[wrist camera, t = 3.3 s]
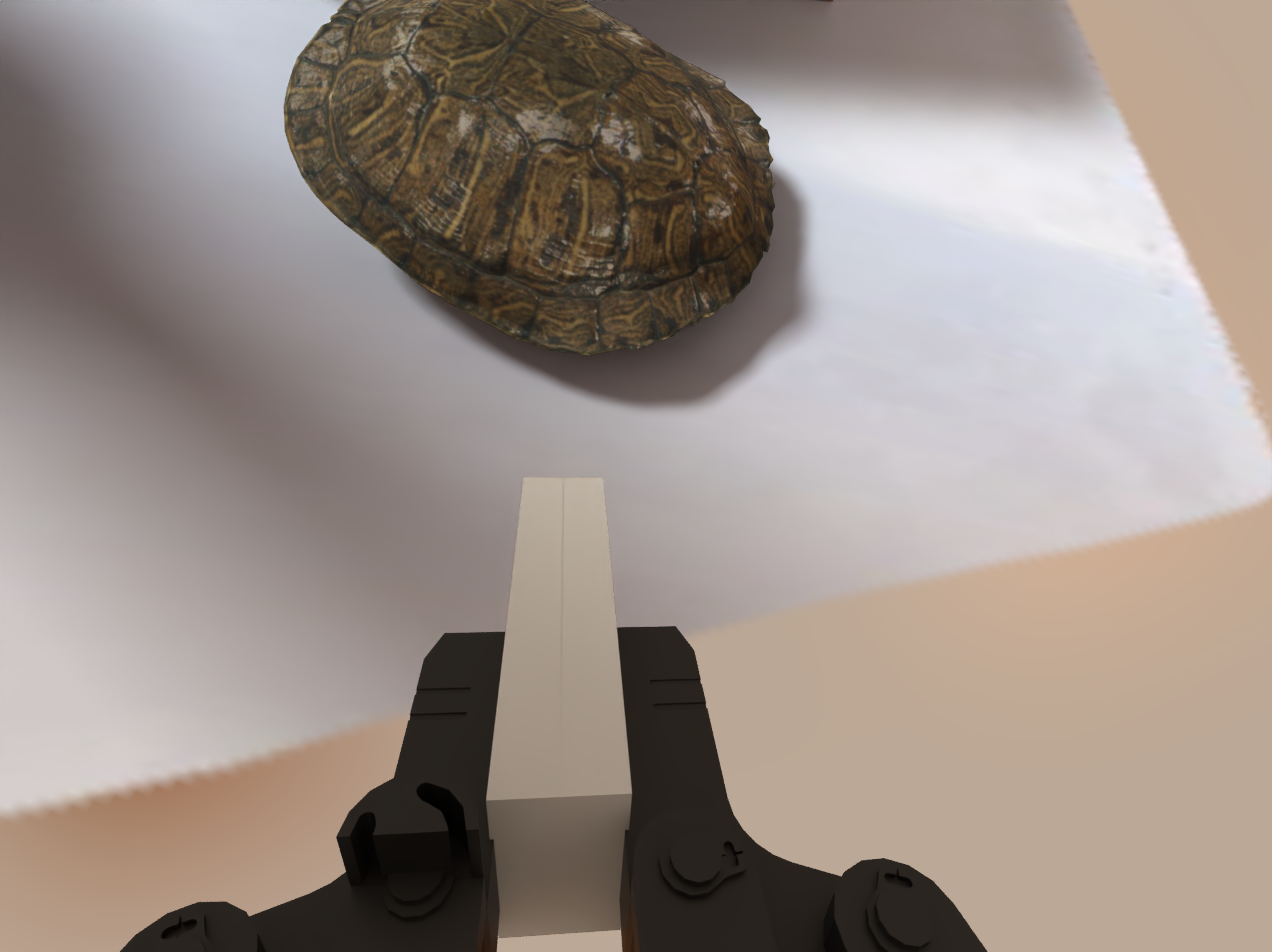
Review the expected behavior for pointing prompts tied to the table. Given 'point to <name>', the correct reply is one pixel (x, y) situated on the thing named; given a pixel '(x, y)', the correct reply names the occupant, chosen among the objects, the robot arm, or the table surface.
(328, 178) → the turtle shell
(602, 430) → the table surface
